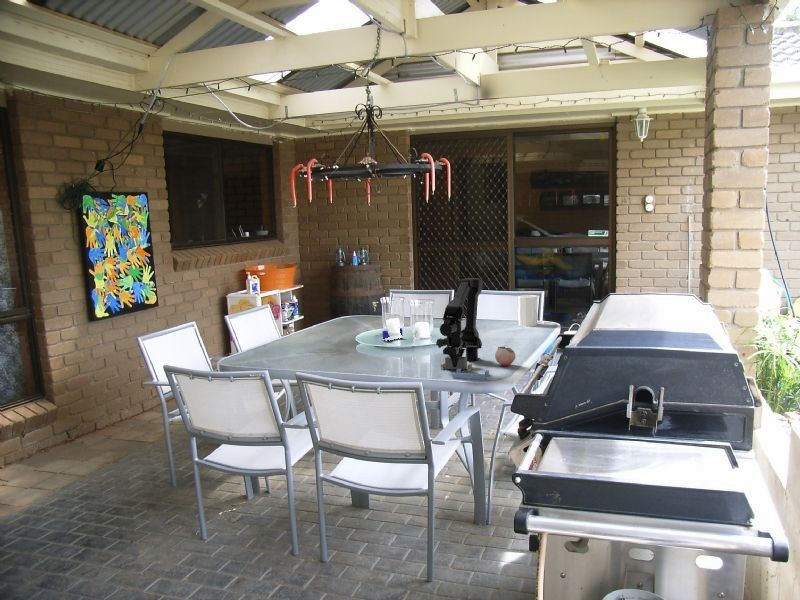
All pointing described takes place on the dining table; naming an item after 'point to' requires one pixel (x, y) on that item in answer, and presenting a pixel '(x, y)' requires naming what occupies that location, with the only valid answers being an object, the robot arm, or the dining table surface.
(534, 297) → the cup
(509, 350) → the decorative fruit
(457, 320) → the robot arm
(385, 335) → the cable clip
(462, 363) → the tall grey block
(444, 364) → the tan wooden block
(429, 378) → the dining table surface
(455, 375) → the separate blue rectangular blocks
